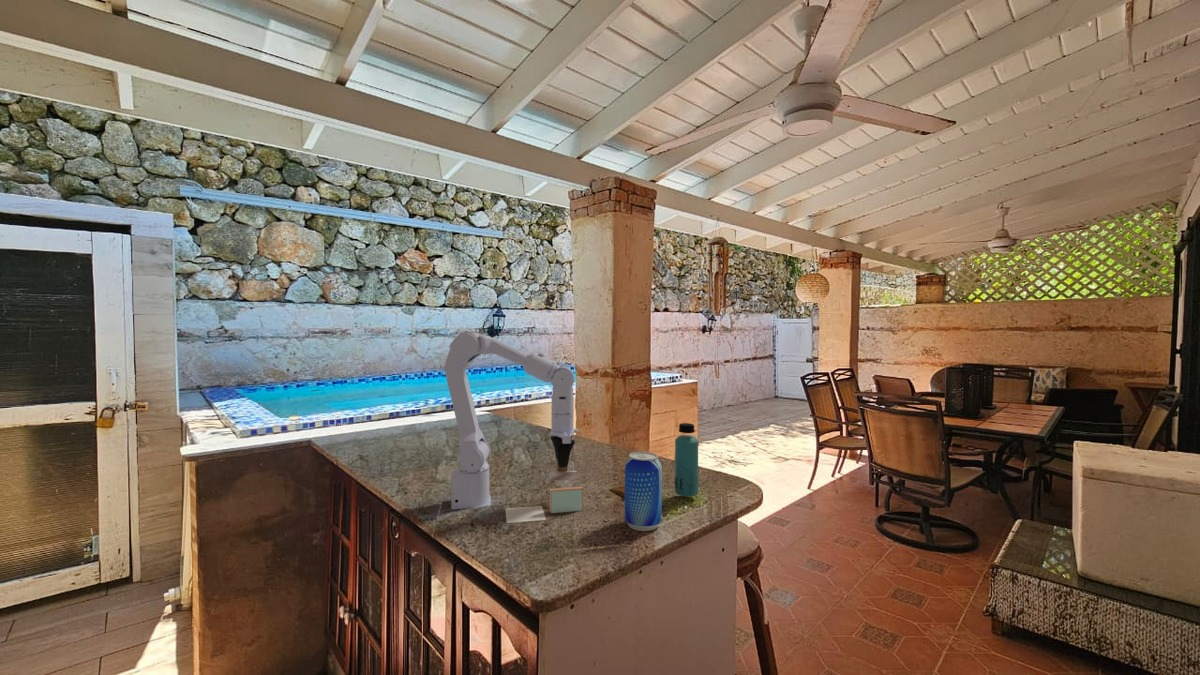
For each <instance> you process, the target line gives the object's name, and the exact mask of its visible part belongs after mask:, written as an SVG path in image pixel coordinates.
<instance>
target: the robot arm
mask: <svg viewBox="0 0 1200 675" xmlns="http://www.w3.org/2000/svg"><path fill="white" fill-rule="evenodd" d="M493 354H494V355H496V356H498V357H501V358H504V359H506V360H508V361H510V362H512V363H516V364H518V365H520V366H522V368H523V370H524V373H525V374H527V375H530V376H531V377H534V378H535V379H538V380H540V381H542V382H545V383H550V384H551V385H552V395H551V418H550V419H551V421H550V423H551V425H550V428H551V429H550V434H551V435H550V437H549V438H550V440H551V443H552V446H553V447H554V453H555V458H556V461H557V459H558V465H559V467H567V466H568V467H569V462H570V456H571V452H572V450H573V447H574V445H575V443H576V440H575V439H573V435H574V434H577V433H579V429H578V428H574V411H575V410H574V409H575V408H574V404H575V403H574V402H575V399H574V397H575V396H574V394H573V393H574V387H573V385H574V384H575V378H574V377H575V376H574V372H573V371H572V368H569V367H568V366H567V365H561V363H562V362H560V361H557V362H555V361H553V360H552V359H549V358H547V357H545V354H544V353H542V352H539V353H537V352H532V353H529V354H528V353H527V354H526V353H525V352H523V351H521V350H520V349H517V348H515V347H513V346H512V345H509V344H507V343H505V342H503V341H502V340H499V339H497V338H495V337H492V336H490V335H489V336H488V335H486V334H485V335H484V334H482V333H480V332H477V331H471V332H470V331H463V332H460V333H459V334H457V335H456V337H455V338H453V340H452V342H450V344H449V350H448V354H447V357H446V360H445V362H444V367H443V368H444V369H443V370H444V373H445V377H446V378H445V379H446V382H447V387H448V389H449V390H448V391H449V395H450V399H451V403H452V408H453V411H454V416H455V420H456V424H457V429H458V433H459V441H458V449H459V454H458V459H457V460H458V464H459V469H454V470H452V471H451V492H450V500H451V505H450V506H451V507H450V509H451V510H458V509H459V510H460V509H461V510H462V509H472V508H474V509H475V508H485V507H491V506H492V503H491V502H492V499H491V498H492V495H491V494H490V465H489V463H488V461H487V459H488V458H490V455H491V446H490V444H489V443H488V442H487V441H486V440H485V437H484V433H483V431H482V430H481V428H480V425H479V422H478V421H479V420H478V417H477V413H476V408H475V404H474V400H473V396H472V391H471V387H470V382H469V378H468V374H467V369H468V367H469V366H470V365H471V363H472V362H473V361H474V360H475V359H476V358H478V357H479V355H493Z"/></svg>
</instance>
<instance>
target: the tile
mask: <svg viewBox="0 0 1200 675" xmlns="http://www.w3.org/2000/svg"><path fill="white" fill-rule="evenodd" d="M583 497H584V487H583V486H574V487H573V486H572V487H559V488H549V513H550V514H556V513H559V514H560V513H569V512H570V513H571V512H581V511H583V510H584V502H583V501H584V498H583Z"/></svg>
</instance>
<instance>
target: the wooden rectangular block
mask: <svg viewBox="0 0 1200 675" xmlns="http://www.w3.org/2000/svg"><path fill="white" fill-rule="evenodd" d="M568 467H569V465H568V466H567V467H559V465H558V459H557V460H556V471H549V472H548V474H549V475H548V481H550V482H551V481H552V482H554V481H570V480H573V481H575V480H577V478H578V473H577V472H578V470H568Z"/></svg>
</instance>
